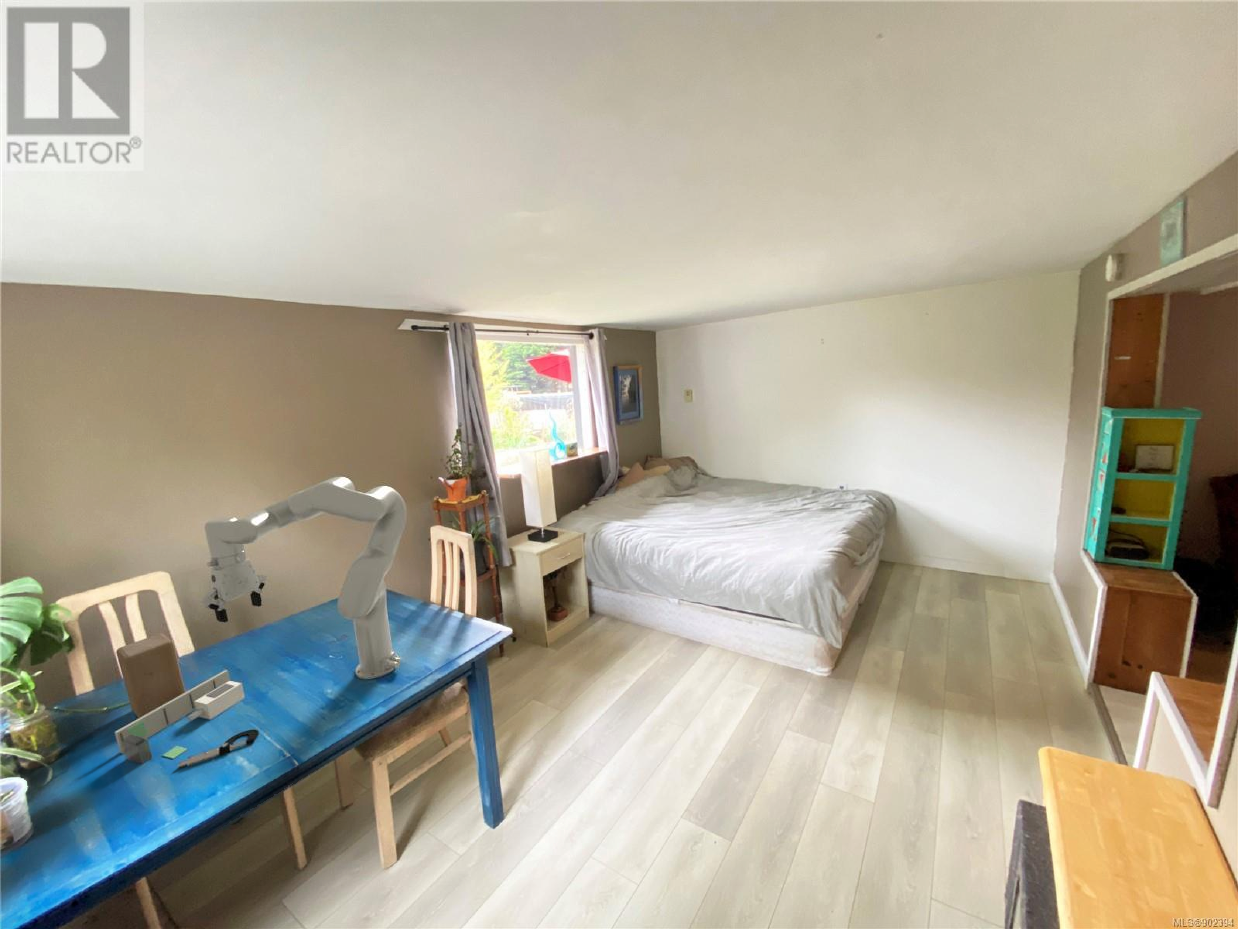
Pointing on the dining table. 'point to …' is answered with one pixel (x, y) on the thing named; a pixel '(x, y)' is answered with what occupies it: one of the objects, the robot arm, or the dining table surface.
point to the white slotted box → (218, 700)
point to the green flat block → (175, 752)
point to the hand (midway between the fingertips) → (240, 613)
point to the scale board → (169, 711)
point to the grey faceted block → (136, 749)
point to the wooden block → (150, 673)
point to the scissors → (220, 749)
